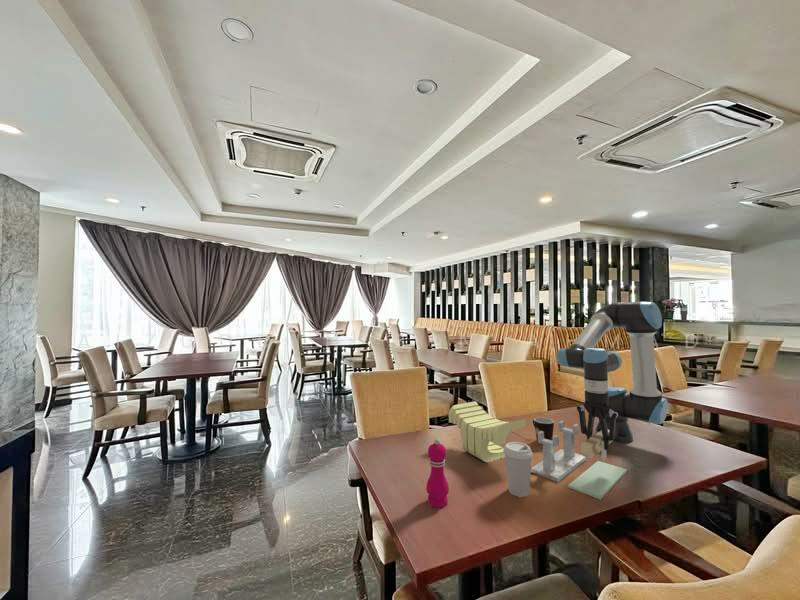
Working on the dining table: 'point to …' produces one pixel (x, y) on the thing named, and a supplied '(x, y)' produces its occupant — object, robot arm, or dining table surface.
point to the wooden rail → (592, 445)
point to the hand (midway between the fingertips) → (598, 456)
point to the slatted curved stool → (481, 430)
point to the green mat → (598, 479)
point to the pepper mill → (437, 476)
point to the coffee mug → (544, 427)
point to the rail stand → (558, 455)
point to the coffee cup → (518, 468)
